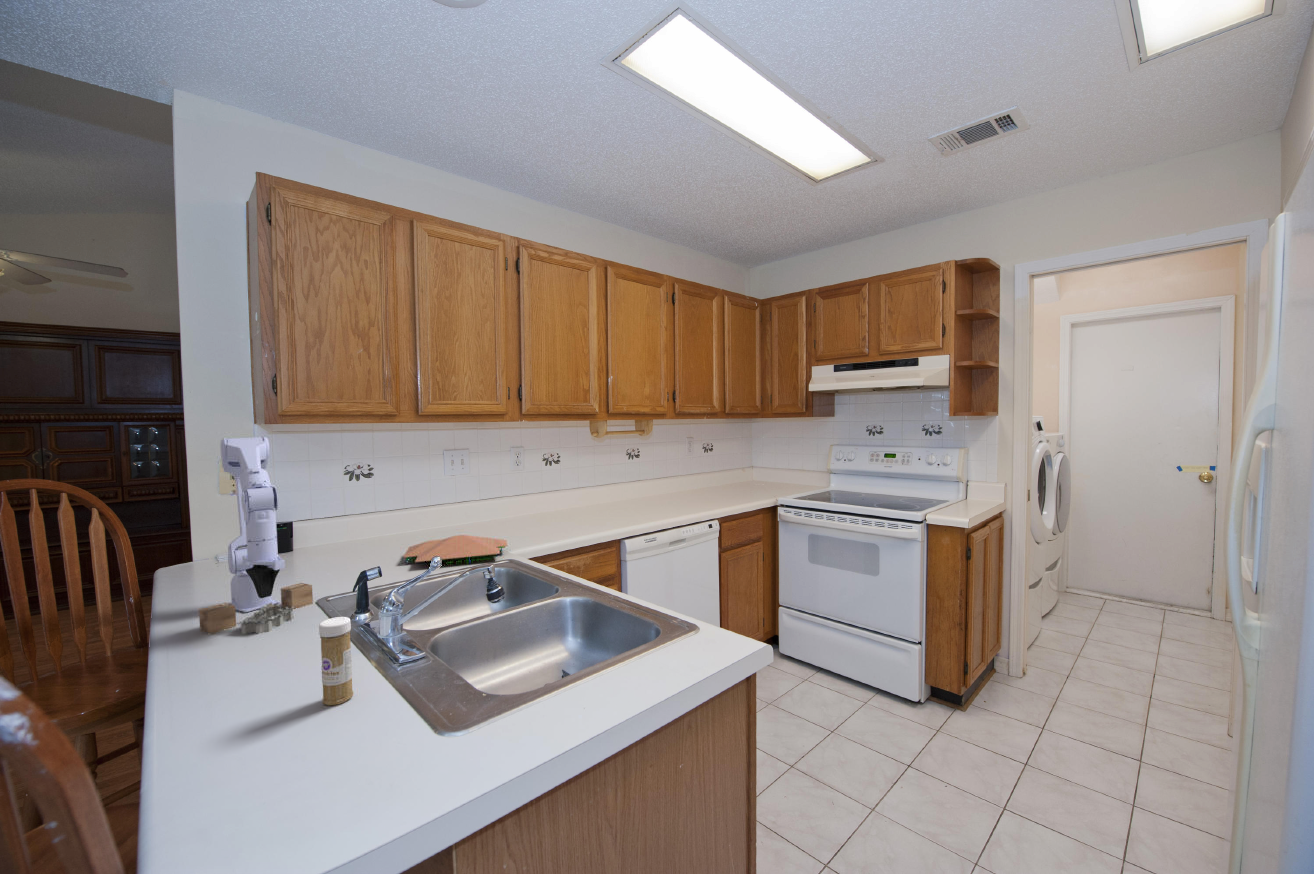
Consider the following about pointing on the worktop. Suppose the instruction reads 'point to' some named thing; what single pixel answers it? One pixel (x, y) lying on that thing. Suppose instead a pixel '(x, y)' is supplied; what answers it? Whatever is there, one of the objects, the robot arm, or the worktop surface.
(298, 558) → the worktop surface
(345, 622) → the sprinkles bottle
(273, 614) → the egg carton
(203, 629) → the numbered block seven
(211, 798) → the worktop surface
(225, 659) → the worktop surface
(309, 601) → the numbered block one
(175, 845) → the worktop surface
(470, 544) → the house
